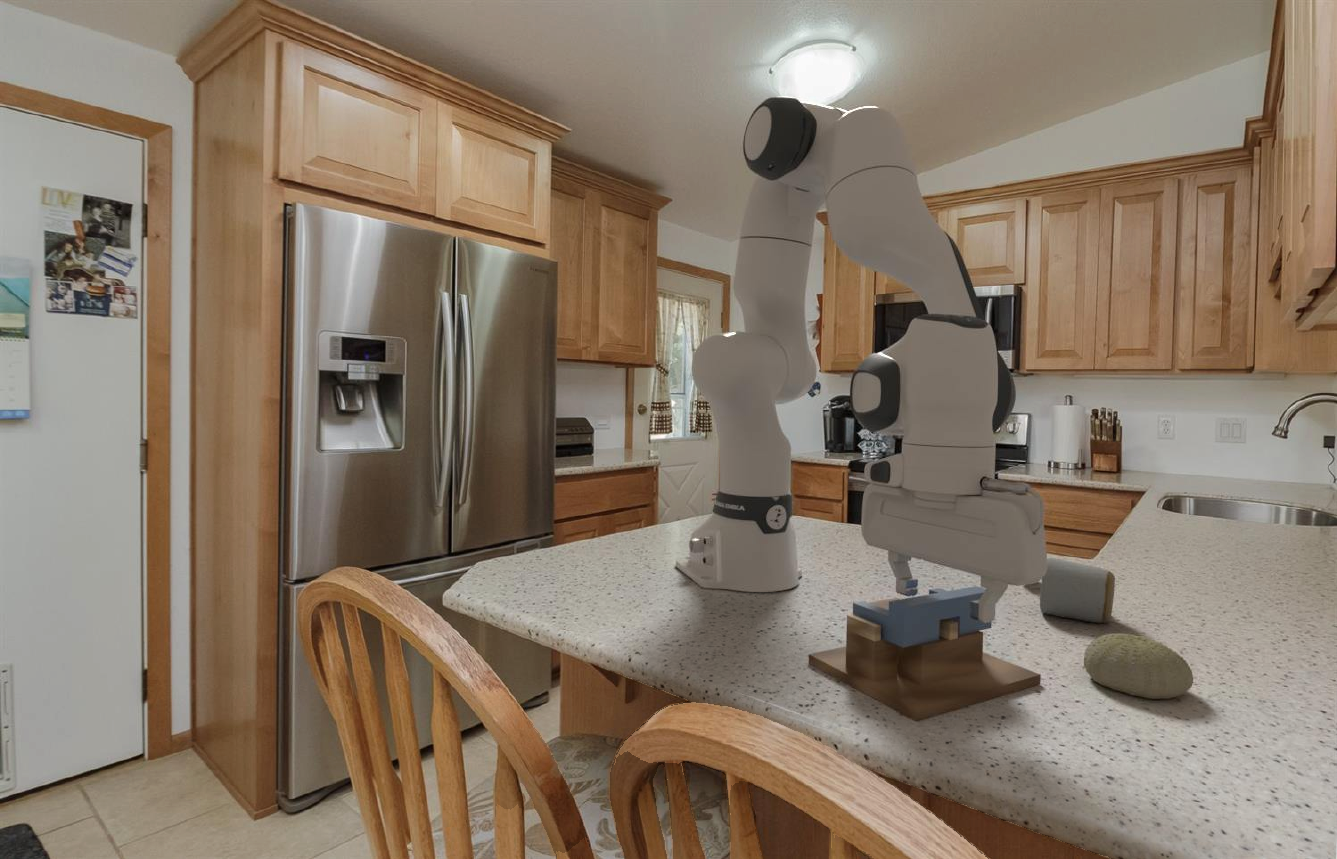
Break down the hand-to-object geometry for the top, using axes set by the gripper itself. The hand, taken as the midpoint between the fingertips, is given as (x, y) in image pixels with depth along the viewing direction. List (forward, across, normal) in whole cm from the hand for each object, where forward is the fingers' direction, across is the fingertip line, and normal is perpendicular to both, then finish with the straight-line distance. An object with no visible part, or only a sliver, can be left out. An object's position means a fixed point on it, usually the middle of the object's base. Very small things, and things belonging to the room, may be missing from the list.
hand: (942, 606), depth 70 cm
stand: (+8, +2, 0) cm, 8 cm away
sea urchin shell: (+8, -9, -18) cm, 22 cm away
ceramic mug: (+8, +7, -35) cm, 37 cm away
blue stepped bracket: (+3, +3, 0) cm, 4 cm away
